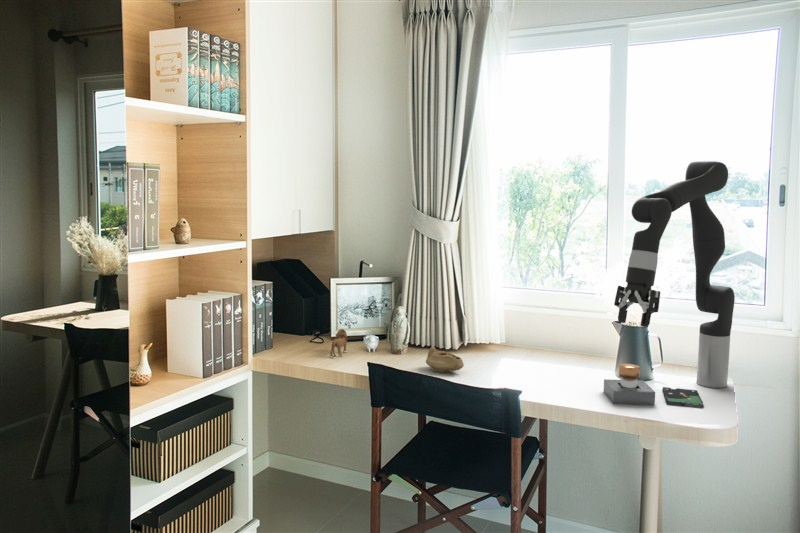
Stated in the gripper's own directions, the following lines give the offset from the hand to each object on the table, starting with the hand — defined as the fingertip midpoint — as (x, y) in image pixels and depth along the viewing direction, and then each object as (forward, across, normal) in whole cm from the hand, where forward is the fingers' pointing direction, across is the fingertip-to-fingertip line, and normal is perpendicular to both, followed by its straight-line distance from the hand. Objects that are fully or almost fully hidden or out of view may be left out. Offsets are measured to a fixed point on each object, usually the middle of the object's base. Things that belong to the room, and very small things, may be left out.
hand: (632, 324), depth 182 cm
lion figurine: (+33, +101, +47) cm, 116 cm away
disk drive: (+22, +3, -29) cm, 36 cm away
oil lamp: (+29, +63, +21) cm, 72 cm away
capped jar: (+23, +10, -14) cm, 28 cm away
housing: (+24, +10, -14) cm, 29 cm away
